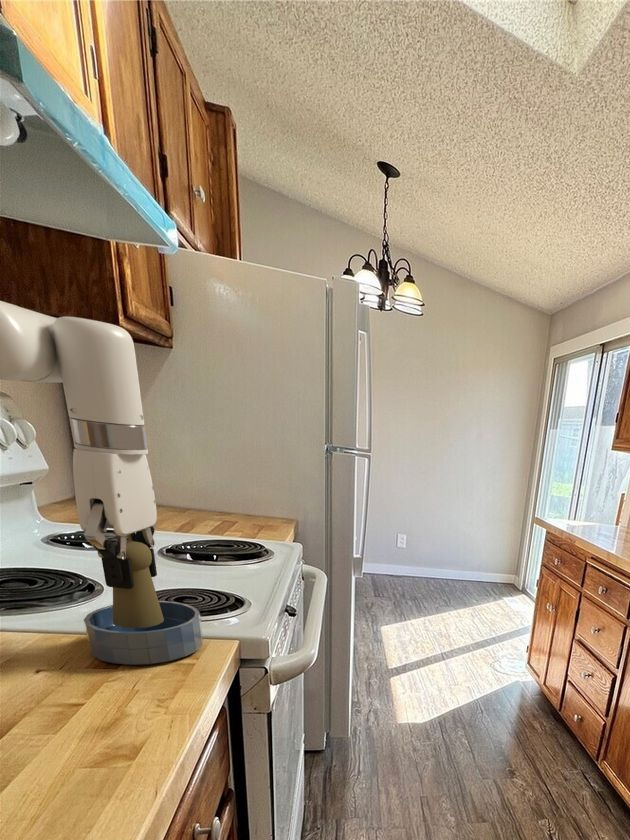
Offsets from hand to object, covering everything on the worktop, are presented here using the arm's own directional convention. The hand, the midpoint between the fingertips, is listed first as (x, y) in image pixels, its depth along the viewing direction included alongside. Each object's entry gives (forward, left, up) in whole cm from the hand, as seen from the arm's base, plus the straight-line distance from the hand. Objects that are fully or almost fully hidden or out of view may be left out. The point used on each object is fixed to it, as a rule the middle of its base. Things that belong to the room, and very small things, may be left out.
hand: (132, 580), depth 76 cm
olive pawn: (0, 0, -6) cm, 6 cm away
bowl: (+1, 0, -10) cm, 10 cm away
